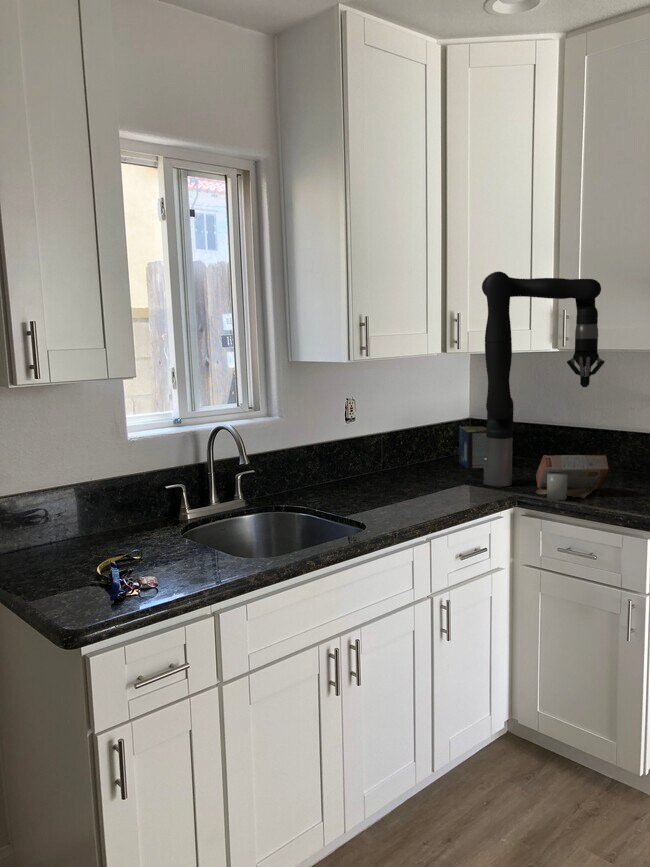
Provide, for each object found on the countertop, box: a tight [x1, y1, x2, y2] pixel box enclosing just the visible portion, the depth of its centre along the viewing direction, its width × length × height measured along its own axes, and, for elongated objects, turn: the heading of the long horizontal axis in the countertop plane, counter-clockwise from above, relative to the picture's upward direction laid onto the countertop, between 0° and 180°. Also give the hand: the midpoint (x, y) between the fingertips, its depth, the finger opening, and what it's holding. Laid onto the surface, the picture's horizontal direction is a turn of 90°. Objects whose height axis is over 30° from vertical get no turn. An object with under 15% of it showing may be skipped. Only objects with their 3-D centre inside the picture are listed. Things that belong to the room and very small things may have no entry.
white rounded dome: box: [546, 473, 568, 501], centre depth 237 cm, size 6×6×8 cm
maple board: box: [535, 488, 597, 499], centre depth 248 cm, size 16×18×1 cm
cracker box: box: [535, 454, 610, 489], centre depth 244 cm, size 14×6×21 cm
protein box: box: [458, 425, 487, 470], centre depth 299 cm, size 10×15×16 cm
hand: (584, 386), depth 254 cm, fingers closed
